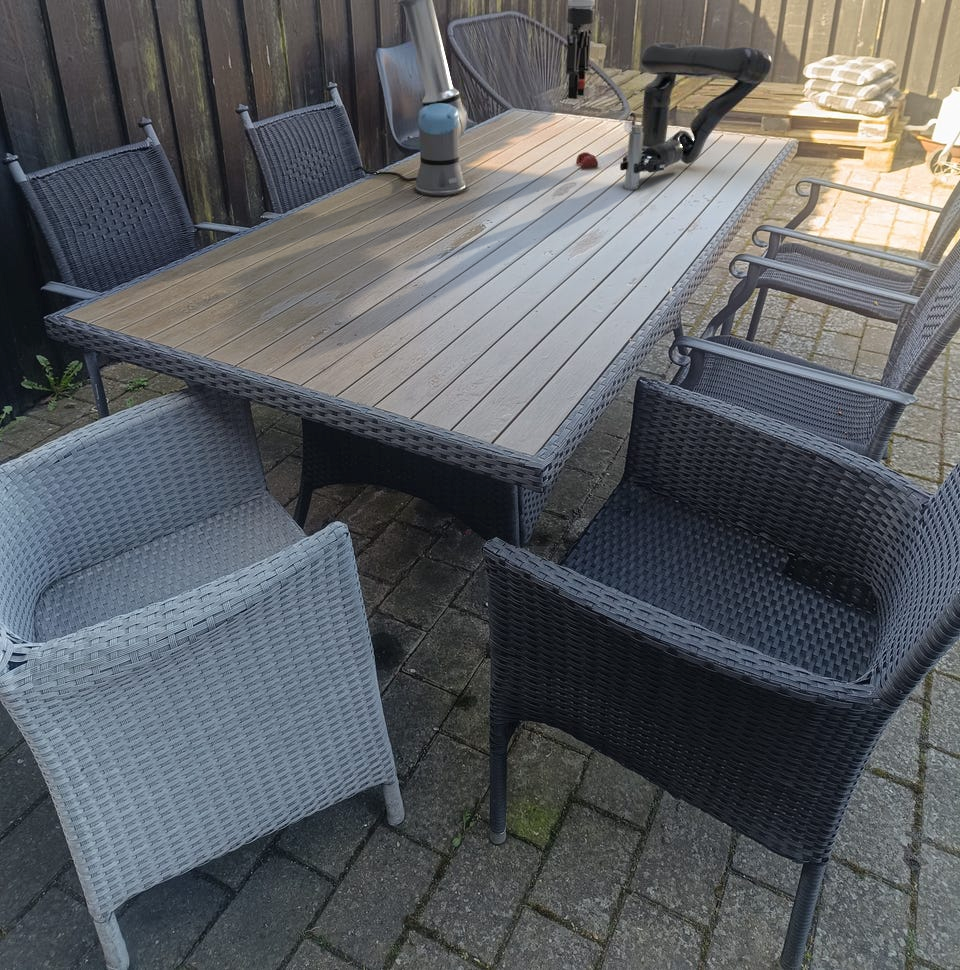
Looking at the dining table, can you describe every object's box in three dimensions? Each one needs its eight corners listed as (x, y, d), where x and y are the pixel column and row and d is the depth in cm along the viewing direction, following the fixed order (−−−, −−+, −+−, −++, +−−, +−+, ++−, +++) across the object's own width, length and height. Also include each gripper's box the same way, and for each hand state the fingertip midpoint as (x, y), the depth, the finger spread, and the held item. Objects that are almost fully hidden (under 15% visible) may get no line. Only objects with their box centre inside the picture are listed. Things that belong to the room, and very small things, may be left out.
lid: (581, 85, 251) (582, 77, 250) (586, 88, 248) (587, 80, 246) (566, 86, 251) (566, 78, 249) (571, 89, 247) (571, 81, 246)
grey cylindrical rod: (624, 189, 258) (631, 127, 248) (623, 185, 262) (629, 124, 251) (638, 189, 258) (645, 127, 248) (637, 185, 262) (643, 124, 251)
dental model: (591, 148, 281) (599, 155, 275) (590, 161, 283) (599, 168, 277) (575, 150, 280) (583, 157, 274) (574, 163, 282) (582, 170, 276)
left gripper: (582, 11, 229) (576, 103, 243) (604, 4, 242) (598, 92, 256) (556, 10, 232) (552, 101, 246) (580, 3, 245) (575, 90, 258)
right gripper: (640, 140, 267) (609, 151, 256) (679, 148, 259) (649, 159, 249) (637, 165, 271) (607, 176, 261) (676, 173, 263) (646, 185, 253)
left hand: (576, 96), depth 251 cm, fingers closed on lid, 5 cm apart
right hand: (628, 168), depth 255 cm, fingers closed on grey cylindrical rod, 4 cm apart
